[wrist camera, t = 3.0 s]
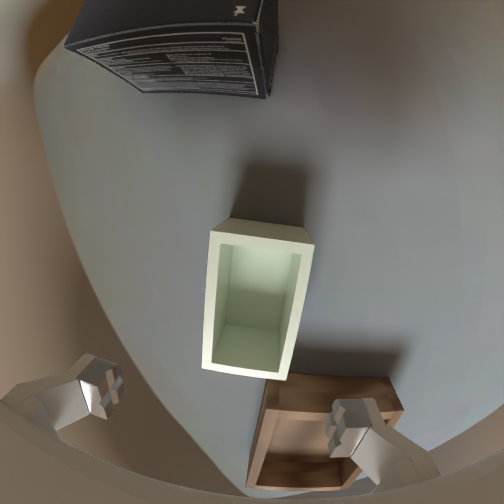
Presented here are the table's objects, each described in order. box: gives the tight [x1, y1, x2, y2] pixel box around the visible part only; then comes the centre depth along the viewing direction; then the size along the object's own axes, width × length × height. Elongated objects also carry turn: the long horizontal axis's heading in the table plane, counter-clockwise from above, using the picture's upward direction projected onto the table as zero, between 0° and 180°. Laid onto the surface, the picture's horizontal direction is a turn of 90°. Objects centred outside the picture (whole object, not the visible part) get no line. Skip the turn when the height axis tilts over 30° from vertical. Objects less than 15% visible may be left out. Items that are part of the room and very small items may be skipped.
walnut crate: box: [245, 373, 404, 491], centre depth 22 cm, size 12×15×5 cm
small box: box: [64, 0, 279, 99], centre depth 12 cm, size 11×6×10 cm, turn 81°
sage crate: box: [202, 218, 315, 381], centre depth 18 cm, size 6×9×6 cm, turn 173°
